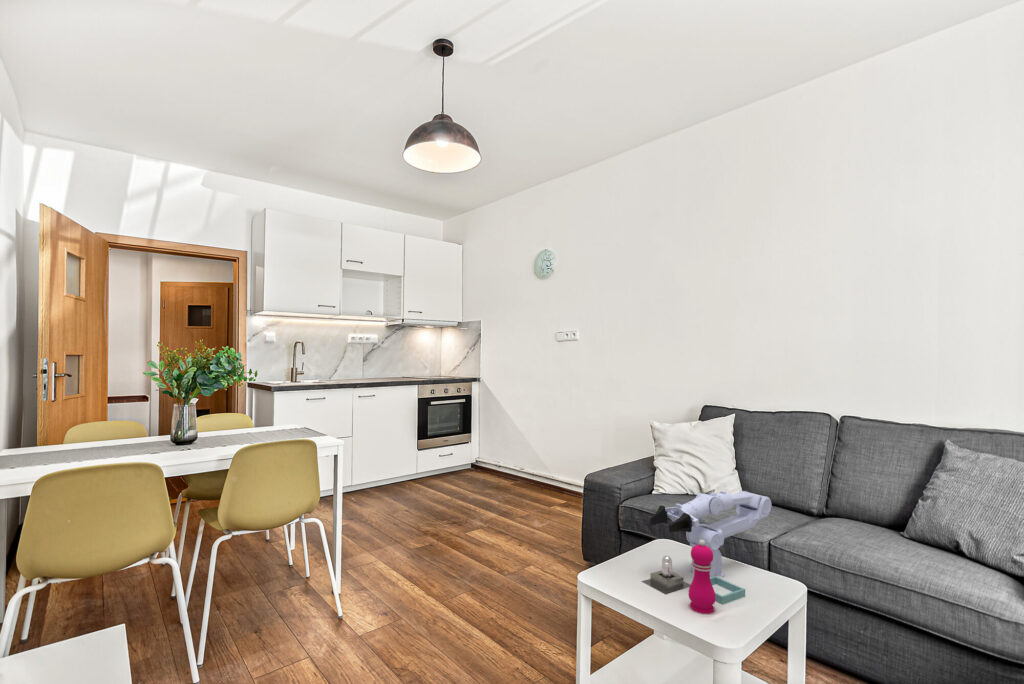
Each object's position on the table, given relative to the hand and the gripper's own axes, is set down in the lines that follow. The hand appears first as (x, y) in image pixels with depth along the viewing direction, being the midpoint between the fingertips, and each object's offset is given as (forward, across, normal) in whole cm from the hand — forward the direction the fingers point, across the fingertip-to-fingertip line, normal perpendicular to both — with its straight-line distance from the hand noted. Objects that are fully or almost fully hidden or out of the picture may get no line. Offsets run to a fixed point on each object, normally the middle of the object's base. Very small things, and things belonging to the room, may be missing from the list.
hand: (660, 525), depth 155 cm
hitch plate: (0, 0, +20) cm, 20 cm away
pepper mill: (+3, +16, +20) cm, 25 cm away
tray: (-9, +12, +21) cm, 26 cm away
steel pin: (0, 0, +19) cm, 19 cm away
